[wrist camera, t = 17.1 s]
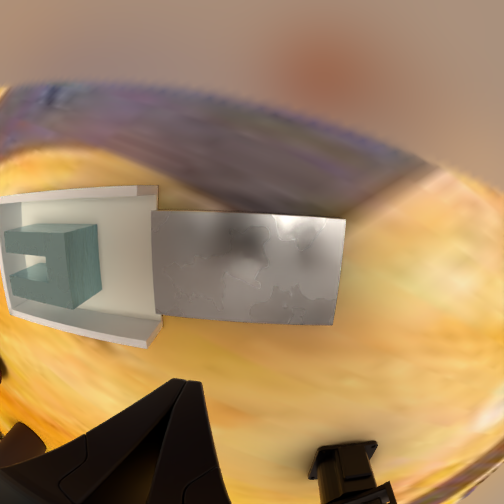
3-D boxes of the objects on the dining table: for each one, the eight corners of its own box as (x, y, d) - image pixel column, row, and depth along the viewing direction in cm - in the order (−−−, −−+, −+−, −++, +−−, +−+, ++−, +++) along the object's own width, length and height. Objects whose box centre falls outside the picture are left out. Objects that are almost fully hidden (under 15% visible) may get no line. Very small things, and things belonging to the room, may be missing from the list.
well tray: (163, 326, 20) (147, 348, 17) (31, 301, 20) (9, 314, 17) (158, 185, 18) (137, 185, 14) (19, 194, 18) (-6, 197, 15)
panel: (329, 317, 19) (332, 325, 18) (161, 307, 19) (155, 313, 18) (340, 217, 18) (346, 219, 16) (157, 209, 18) (151, 210, 17)
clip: (102, 289, 19) (73, 309, 15) (42, 280, 19) (12, 295, 16) (97, 224, 18) (64, 233, 14) (36, 223, 18) (3, 231, 14)
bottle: (30, 444, 28) (-17, 508, 8) (11, 417, 26) (-45, 482, 7) (53, 454, 27) (5, 528, 8) (32, 427, 26) (-26, 502, 6)
